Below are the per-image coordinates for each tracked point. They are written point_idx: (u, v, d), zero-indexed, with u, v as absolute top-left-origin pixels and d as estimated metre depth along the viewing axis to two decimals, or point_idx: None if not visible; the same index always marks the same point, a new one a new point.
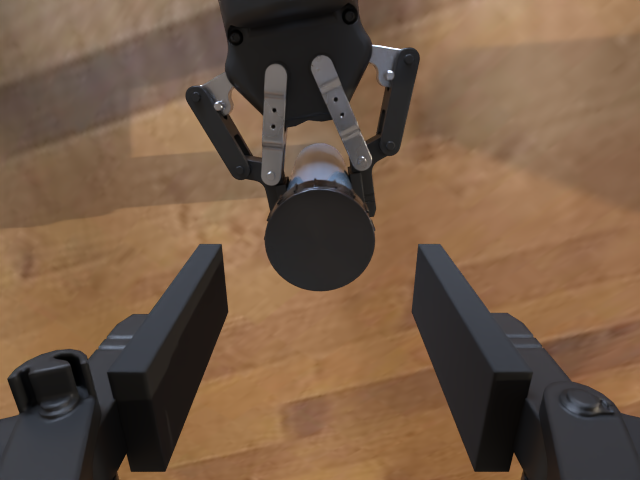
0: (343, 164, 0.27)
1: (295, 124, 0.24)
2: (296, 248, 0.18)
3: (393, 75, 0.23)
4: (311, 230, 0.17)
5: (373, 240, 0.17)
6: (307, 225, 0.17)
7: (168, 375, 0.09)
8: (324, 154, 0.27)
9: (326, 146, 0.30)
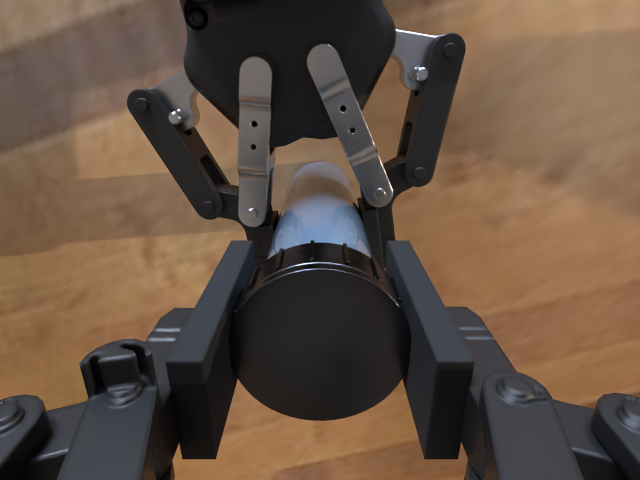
0: (351, 193, 0.20)
1: (285, 143, 0.17)
2: (281, 359, 0.11)
3: (426, 73, 0.16)
4: (306, 333, 0.10)
5: (409, 347, 0.10)
6: (298, 326, 0.10)
7: (217, 365, 0.09)
8: (326, 181, 0.20)
9: (328, 166, 0.23)
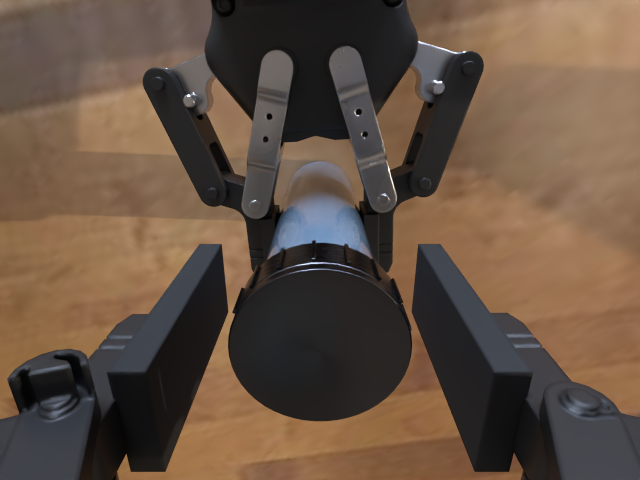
0: (353, 196, 0.21)
1: (297, 139, 0.17)
2: (311, 383, 0.11)
3: (443, 88, 0.16)
4: (294, 353, 0.11)
5: (360, 279, 0.10)
6: (284, 355, 0.11)
7: (167, 375, 0.09)
8: (330, 181, 0.20)
9: (332, 167, 0.23)
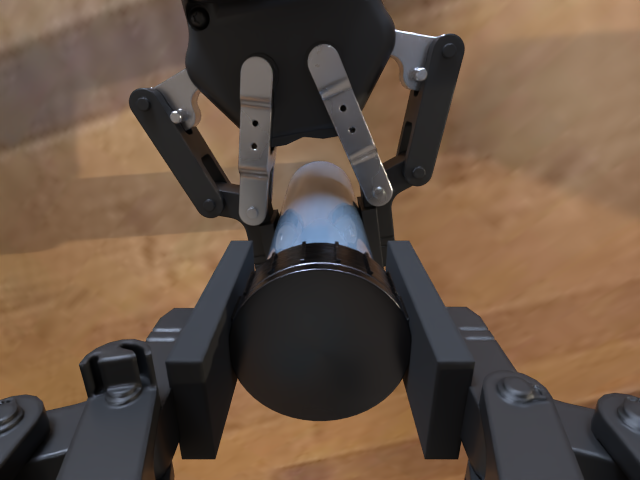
0: (351, 193, 0.20)
1: (286, 142, 0.17)
2: (315, 383, 0.11)
3: (426, 74, 0.16)
4: (294, 356, 0.11)
5: (350, 275, 0.10)
6: (285, 358, 0.11)
7: (217, 365, 0.09)
8: (326, 180, 0.20)
9: (328, 166, 0.23)
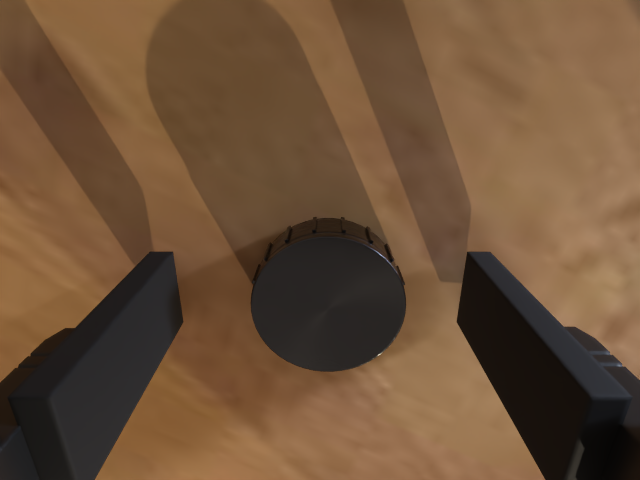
0: None
1: None
2: (324, 337, 0.13)
3: None
4: (306, 312, 0.12)
5: (354, 242, 0.12)
6: (298, 315, 0.13)
7: (86, 396, 0.08)
8: None
9: None
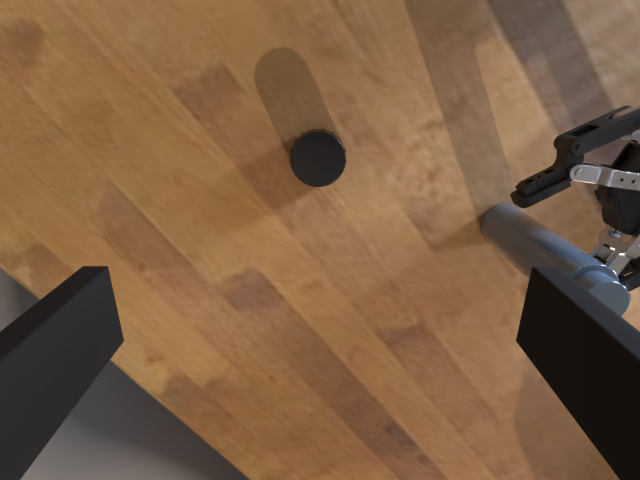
0: None
1: (614, 205, 0.31)
2: (316, 171, 0.35)
3: None
4: (310, 161, 0.35)
5: (326, 133, 0.34)
6: (307, 162, 0.35)
7: None
8: None
9: None
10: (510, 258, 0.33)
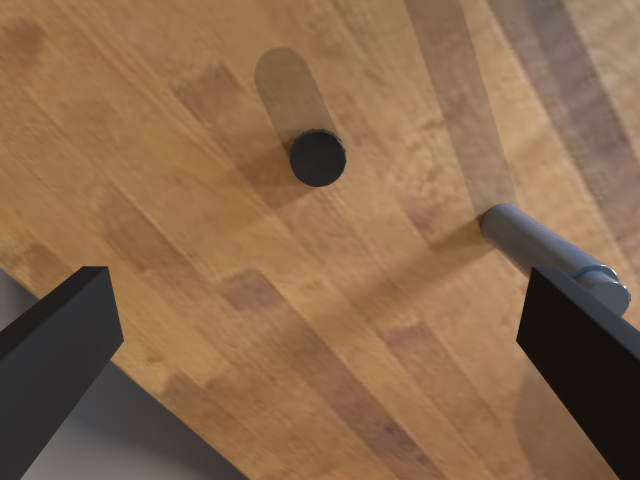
0: None
1: None
2: (316, 171, 0.35)
3: None
4: (310, 161, 0.35)
5: (326, 133, 0.34)
6: (307, 162, 0.35)
7: None
8: None
9: None
10: (510, 258, 0.33)
